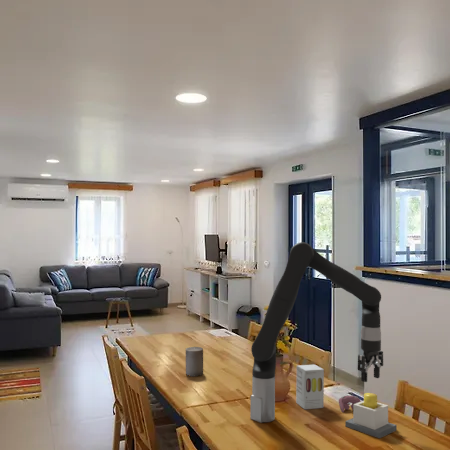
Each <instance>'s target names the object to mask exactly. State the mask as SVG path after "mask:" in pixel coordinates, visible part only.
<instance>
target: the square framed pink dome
mask: <svg viewBox="0 0 450 450" xmlns="http://www.w3.org/2000/svg"><path fill="white" fill-rule="evenodd" d="M352 411H353V413H352V414H353V415H352V416H353V417H352V418H350V419H348V420H347V419H346V420H345V423H344V424H345V427H347V428H349V429H352V430H355V431H358V432H361V433H364V434H366V435H368V436H371V437H374V438H377V439H382V438H383V437H386V436H388V435H389V434H391V433H394V432H396V431H397V428H398V427H397V424H394V423H391V422H389V405H388V404H384V403H381V402H378V401H377V408H375V409H371V408H368V407H365V406H364V400H362V401H361V402H358V403H356V404H353V409H352Z"/></svg>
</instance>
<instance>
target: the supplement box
mask: <svg viewBox="0 0 450 450" xmlns="http://www.w3.org/2000/svg"><path fill="white" fill-rule="evenodd" d="M324 371H325V369H324V368H322V367H321V366H318V365H316V364H301V365H299V364H297V365H296V385H295V386H296V388H295V389H296V390H295V391H296V393H295V395H296V396H295V402H296V404H297V405H298V406H300V407H301V408H303V410H311V409H313V410H314V409H324V404H325V403H324V399H325V397H324V393H325V392H324V388H325V387H324V386H325V381H324V380H325V372H324Z"/></svg>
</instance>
